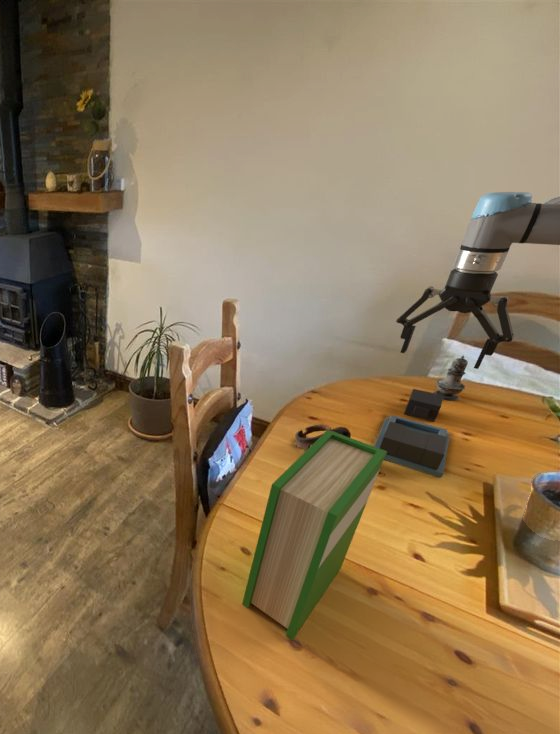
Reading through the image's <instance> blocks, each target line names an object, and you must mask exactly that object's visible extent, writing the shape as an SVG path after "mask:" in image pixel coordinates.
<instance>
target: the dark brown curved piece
mask: <svg viewBox="0 0 560 734" xmlns="http://www.w3.org/2000/svg"><path fill="white" fill-rule="evenodd" d="M304 430H305V431H303V430H302V429H300V430H298V431H296V433H295V436H294V437H295V442H294V445H295V447H296V448H298V449H301V450H303V451H304V452H305V451H306V450H308V449H309V448H310V447H311V446H312V445H313V444H314V443H315V442H316V441H317V440H318V439H319V438H320V437H321V436H322V435H323V434H324V433H325V432H326V431H327V430H330V431H333V432H335V433H338V434H341V435H344V436H346V437H349V438H352V433H351V431H350V430H349V428H347V427H345V426H337V427H334V428H332V427H331V426H330V425H328V424H323V423H322V424H320V423H319V424H314V425H309V426H306V427H305V428H304ZM317 432H323V433H321V434H319V435H316V436H312V437H307V435H309V434H313V433H317Z"/></svg>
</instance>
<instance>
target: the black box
mask: <svg viewBox="0 0 560 734" xmlns="http://www.w3.org/2000/svg"><path fill="white" fill-rule="evenodd" d="M443 400H444V399H443V395H439V394H434V393H433V392H429V391H426V390H420V389H417V388H412V391H411V393H410V396H409V399H408V401H407V403H406V406H405V408H404V411H403V415H405V416H409V417H413V418H417V419H419V420H424V421H429V422H432V423H434V422H436V419H437V417H438V415H439V413H440V410H441V408H442V404H443Z"/></svg>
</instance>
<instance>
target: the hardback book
mask: <svg viewBox="0 0 560 734" xmlns="http://www.w3.org/2000/svg"><path fill="white" fill-rule="evenodd" d="M324 432H325V433H324ZM324 432H323V433H324V434H323V433H322V434H323V435H322V436H321V437H320V438H319V439H318V440H317V441H316V442H315V443H314V444H313V445H311V446H310V448H309V449H308V450H306V451H304V452H303V453H302V454H301V455H300V456H299V457H298V458H297V459H296V460H295V461H294V462H293V463H292V464H291V465H290V466H289V467H288V468H287V469H286V470H284V472H283V473H282V474H281V475H279V477H277V479H275V480H274V482H273V483H272V484H271V487H270V491H269V495H268V498H267V503H266V507H265V509H264V510H265V511H264V515H263V519H262V522H261V526H260V531H259V535H258V539H257V542H256V547H255V551H254V555H253V558H252V563H251V567H250V571H249V574H248V579H247V583H246V587H245V590H244V596H243V599H242V604H241V605H243V606H244V607H245V608H246V609H249V608H250V606H252V605H253V606H254V607H256V608H257V609H258V610H260V611H262V612H263V613H264V614H266V615H267V616H269V618H271V619H273V620H274V621H275V622H277V623H278V624H280V625H281V626H283V627H284V628H285V629H287V630H286V633H285V636H286V637H287V638H288V639H289V640H290V641H293V640H294V639H295V637H296V636H297V634H298V633H299V631H300V630H301V629H302V627H303V625H304V624H305V622H306V621H307V619H308V618H309V616H310V615H311V613H312V612H313V610H314V609H315V608H316V606H317V605H318V603H319V602H320V601H321V599H322V598H323V596H324V594H325V592H326V591H327V590H328V588H329V587H330V585H331V584H332V582H333V581H334V579H335V578H336V576H337V575H338V573H339V572H340V571H341V569H342V567H343V564H344V561H345V559H346V556H347V553H348V551H349V548H350V547H351V544H352V541H353V539H354V536H355V533H356V531H357V528H358V527H359V526H358V525H359V523H360V522H361V521H360V520H361V519H362V516H363V513H364V511H365V508H366V506H367V503H368V501H369V498H370V496H371V493H372V490H373V488H374V486H375V483H376V480H377V478H378V476H379V473H380V471H381V468H382V465H383V463H384V461H385V460H384V458H385V455H386V453H387V451H385V450H382V449H379V448H377V447H374V446H373V445H372V444H368V443H366V442H362V441H360V440H357V439H354V438H352V437H350V438H349V437H346V436H344V435H341V434H338V433H335V432H333V431H330V430H327V431H324Z"/></svg>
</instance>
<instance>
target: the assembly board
mask: <svg viewBox="0 0 560 734" xmlns="http://www.w3.org/2000/svg"><path fill="white" fill-rule="evenodd" d="M450 436H451V434H450V433H448V429H447V428H443V427H439V426H436V425H432V424H428V423H425V422H420V421H417V420H413V419H410V418H405V417H401V416H397V415H394V414H391V415H390V417H385V419H384V421H383V424H382V426H381V429H380V431H379V433H378V436H377V438H376V441H375V443H374V447H377V448H379V449H382V450H385V451H387V453H386V455H385V458H384V460H383V461H386V462H387V461H388V462H389V463H393V464H395V465H400V466H402V467H404V468H405V467H406V468H409V469H412V470H415V471H419V472H422V473H424V474H427V475H430V476H434V477H437V478H441V479H442V477H443V475H444V471H445V465H446V460H447V454H448V448H449V443H450Z"/></svg>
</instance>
